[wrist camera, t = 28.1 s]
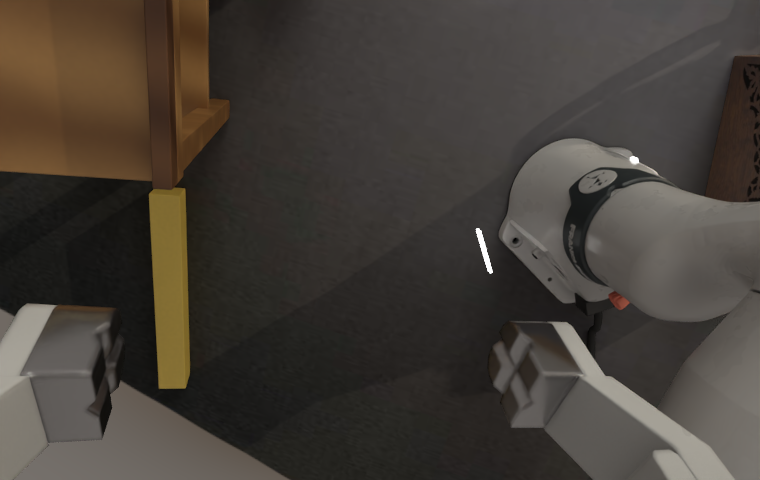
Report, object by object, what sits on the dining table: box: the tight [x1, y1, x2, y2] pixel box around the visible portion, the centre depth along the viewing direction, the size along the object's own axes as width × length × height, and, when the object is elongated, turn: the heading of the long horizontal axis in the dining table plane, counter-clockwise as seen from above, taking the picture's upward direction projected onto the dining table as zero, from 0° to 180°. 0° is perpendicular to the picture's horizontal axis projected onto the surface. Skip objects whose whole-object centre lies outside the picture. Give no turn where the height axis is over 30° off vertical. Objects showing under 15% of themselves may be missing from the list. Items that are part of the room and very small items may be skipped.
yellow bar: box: [149, 188, 190, 389], centre depth 55 cm, size 24×3×3 cm, turn 174°
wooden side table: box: [0, 0, 229, 190], centre depth 34 cm, size 17×12×28 cm
